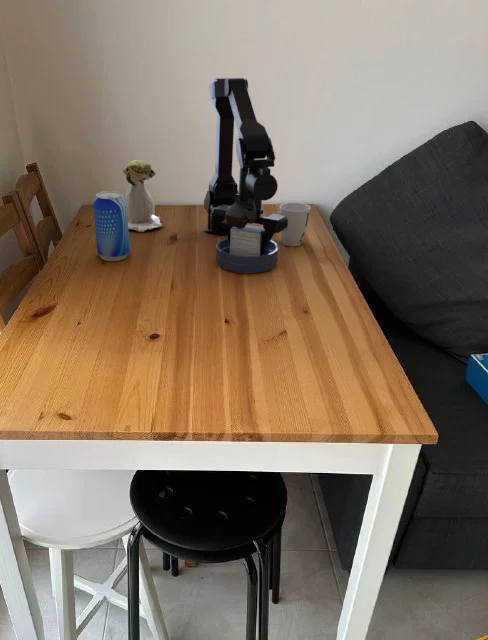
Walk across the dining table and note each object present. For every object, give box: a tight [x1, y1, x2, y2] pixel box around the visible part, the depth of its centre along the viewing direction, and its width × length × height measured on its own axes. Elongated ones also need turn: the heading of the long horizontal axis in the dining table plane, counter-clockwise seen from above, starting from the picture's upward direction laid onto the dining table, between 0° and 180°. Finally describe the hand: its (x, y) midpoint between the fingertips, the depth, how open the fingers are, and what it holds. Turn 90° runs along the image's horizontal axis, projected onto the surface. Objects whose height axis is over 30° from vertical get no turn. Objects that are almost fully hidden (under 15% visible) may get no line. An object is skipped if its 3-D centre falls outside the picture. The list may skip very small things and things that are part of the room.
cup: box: [279, 202, 311, 247], centre depth 161 cm, size 8×8×10 cm
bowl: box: [215, 237, 280, 274], centre depth 150 cm, size 16×16×4 cm
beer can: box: [92, 190, 131, 262], centre depth 151 cm, size 8×8×16 cm
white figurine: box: [122, 159, 163, 233], centre depth 172 cm, size 12×13×18 cm
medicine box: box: [230, 224, 264, 256], centre depth 149 cm, size 8×4×9 cm, turn 65°
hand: (246, 251), depth 150 cm, fingers closed on medicine box, 8 cm apart
